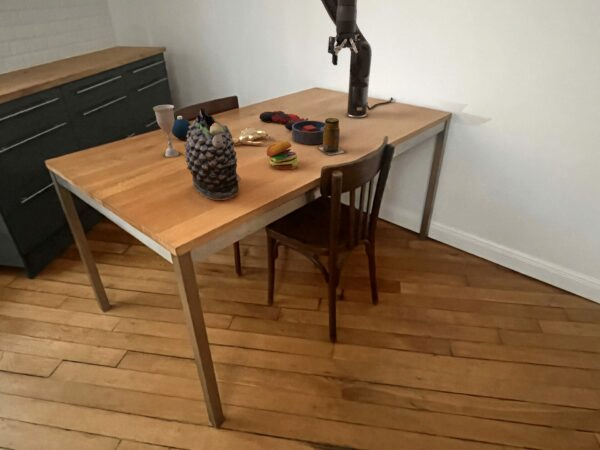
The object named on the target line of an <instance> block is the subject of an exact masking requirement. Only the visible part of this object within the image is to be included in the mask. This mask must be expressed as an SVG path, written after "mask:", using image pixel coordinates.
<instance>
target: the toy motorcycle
mask: <svg viewBox="0 0 600 450" xmlns="http://www.w3.org/2000/svg"><path fill="white" fill-rule="evenodd" d="M259 119H260V121H262V122H265V123H266V122H267V123H268V122H275V123H277V124H282V125H284V127H285V129H286V130H289V131H292V125H293V124H294V123H296V122H300V121H309V117H307V118H304V117H303V118H301V117H300V116H298V115H297V114H293V113H285V112H284V111H282V110H274V111H264V112H261V113H260V114H259Z"/></svg>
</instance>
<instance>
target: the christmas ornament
mask: <svg viewBox="0 0 600 450" xmlns="http://www.w3.org/2000/svg"><path fill="white" fill-rule="evenodd" d="M191 125H192V123H191V122H190V121H189V120H188V119H186V118H183V116H182V115H178V116H177V118H176V119H175V121H174V126H173V129H172V131H171V133H172V135H173V136H174V137H175V138H176V139H179V140H187V137H186V136H187V135H188V133H187V132H188V131H189V130H190V129H189V126H191Z"/></svg>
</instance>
